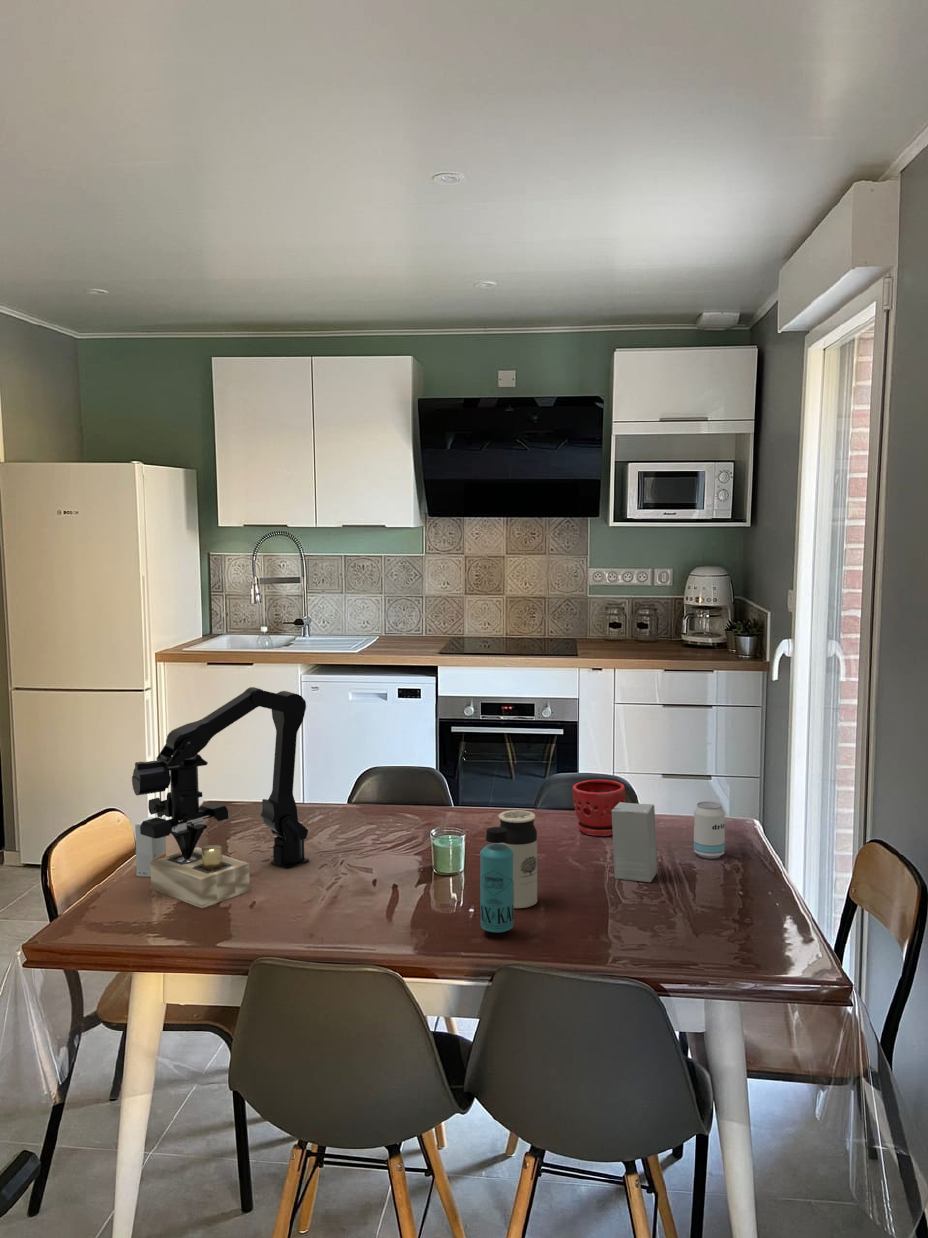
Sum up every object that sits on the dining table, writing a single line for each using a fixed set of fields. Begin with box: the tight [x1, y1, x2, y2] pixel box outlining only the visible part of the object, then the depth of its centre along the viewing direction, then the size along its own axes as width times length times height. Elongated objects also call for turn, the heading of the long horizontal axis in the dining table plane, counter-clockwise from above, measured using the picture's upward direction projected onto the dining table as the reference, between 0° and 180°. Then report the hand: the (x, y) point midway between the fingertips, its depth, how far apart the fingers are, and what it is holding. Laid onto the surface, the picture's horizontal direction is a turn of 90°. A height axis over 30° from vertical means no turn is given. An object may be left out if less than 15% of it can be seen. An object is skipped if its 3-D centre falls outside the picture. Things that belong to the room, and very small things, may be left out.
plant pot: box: [572, 779, 626, 837], centre depth 234 cm, size 13×13×12 cm
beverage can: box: [693, 801, 726, 860], centre depth 214 cm, size 7×7×12 cm
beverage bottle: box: [478, 826, 515, 933], centre depth 172 cm, size 6×7×20 cm
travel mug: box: [497, 809, 538, 909], centre depth 187 cm, size 8×8×18 cm
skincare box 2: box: [612, 802, 658, 883], centre depth 201 cm, size 8×7×16 cm
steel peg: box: [177, 856, 197, 863], centre depth 199 cm, size 4×4×5 cm
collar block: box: [150, 846, 251, 909], centre depth 197 cm, size 12×18×6 cm, turn 51°
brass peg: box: [202, 844, 223, 872], centre depth 193 cm, size 4×4×5 cm
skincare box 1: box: [134, 816, 167, 878], centre depth 208 cm, size 6×4×12 cm
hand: (187, 859), depth 199 cm, fingers closed, pressing on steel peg
